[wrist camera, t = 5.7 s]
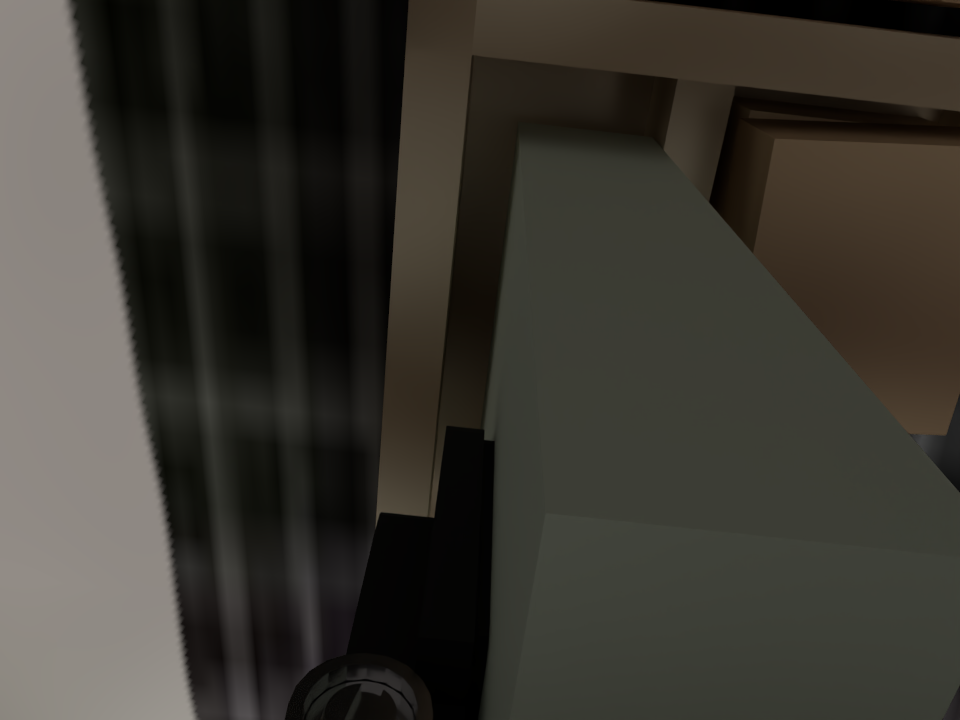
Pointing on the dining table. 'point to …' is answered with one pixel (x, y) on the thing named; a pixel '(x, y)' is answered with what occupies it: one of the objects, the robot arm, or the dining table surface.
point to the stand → (934, 2)
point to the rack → (584, 105)
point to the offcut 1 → (787, 111)
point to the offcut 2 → (863, 247)
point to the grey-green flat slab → (692, 473)
